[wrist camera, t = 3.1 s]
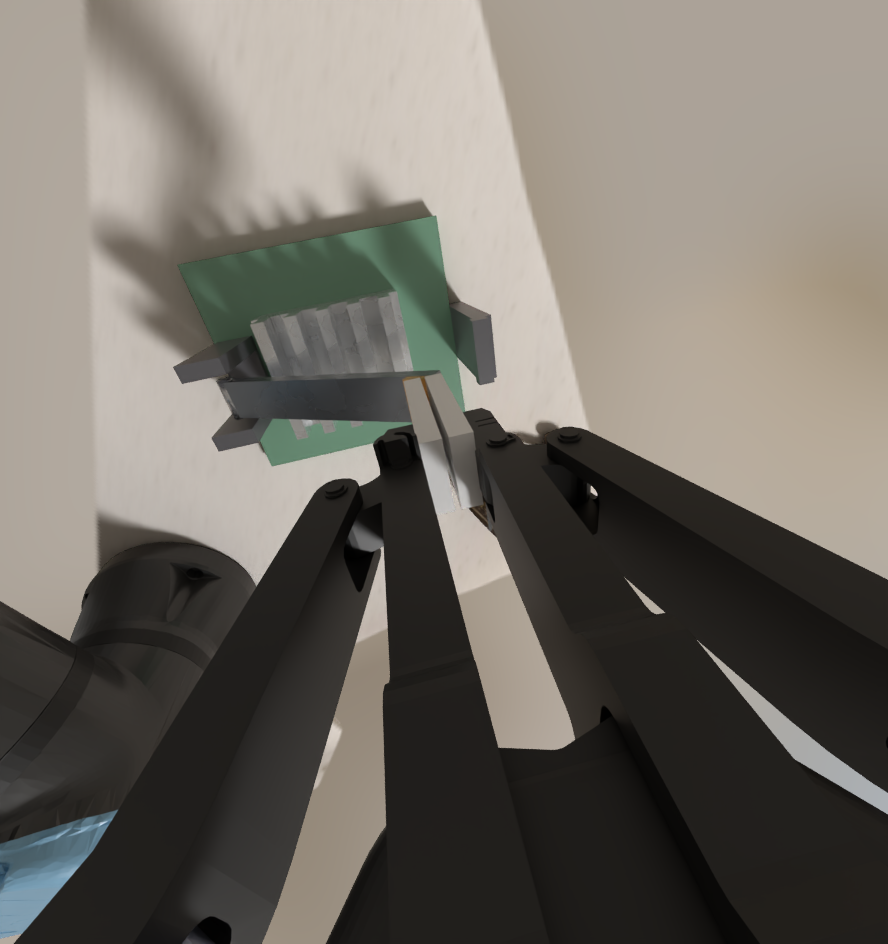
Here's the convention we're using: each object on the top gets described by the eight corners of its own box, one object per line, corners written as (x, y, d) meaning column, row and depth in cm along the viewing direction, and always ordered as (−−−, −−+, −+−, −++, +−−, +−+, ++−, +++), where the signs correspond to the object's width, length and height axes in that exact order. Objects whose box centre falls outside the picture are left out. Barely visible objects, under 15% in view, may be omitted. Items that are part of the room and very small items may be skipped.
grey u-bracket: (249, 412, 31) (218, 451, 25) (216, 342, 28) (172, 367, 22) (280, 405, 31) (258, 442, 25) (251, 335, 28) (218, 357, 22)
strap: (243, 413, 26) (227, 421, 25) (225, 376, 24) (207, 383, 23) (452, 417, 19) (442, 429, 18) (444, 367, 18) (432, 376, 17)
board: (274, 460, 35) (272, 466, 34) (184, 264, 26) (177, 264, 25) (463, 416, 36) (466, 421, 35) (433, 217, 28) (436, 215, 27)
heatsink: (300, 415, 32) (289, 441, 27) (261, 315, 28) (240, 326, 23) (415, 389, 32) (423, 411, 28) (394, 288, 28) (399, 294, 24)
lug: (452, 354, 33) (479, 385, 25) (444, 305, 31) (472, 321, 23) (467, 350, 33) (500, 380, 25) (461, 301, 31) (494, 316, 23)
